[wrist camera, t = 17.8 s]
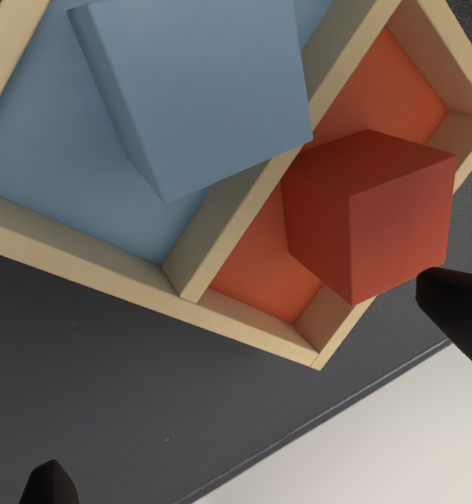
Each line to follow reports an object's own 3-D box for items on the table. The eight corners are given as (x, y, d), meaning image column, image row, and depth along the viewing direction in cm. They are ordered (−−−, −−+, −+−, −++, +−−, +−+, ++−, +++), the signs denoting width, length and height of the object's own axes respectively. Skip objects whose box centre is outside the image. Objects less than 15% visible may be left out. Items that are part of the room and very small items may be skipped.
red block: (288, 254, 19) (352, 307, 15) (276, 160, 17) (348, 197, 13) (369, 220, 20) (446, 262, 17) (369, 128, 18) (458, 154, 14)
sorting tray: (286, 332, 22) (320, 371, 20) (-85, 178, 13) (-111, 216, 10) (453, 103, 20) (514, 114, 18) (163, -300, 10) (208, -403, 8)
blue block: (127, 159, 14) (164, 205, 10) (64, 10, 12) (85, 3, 8) (244, 113, 15) (315, 140, 11) (210, -34, 13) (285, -58, 9)
